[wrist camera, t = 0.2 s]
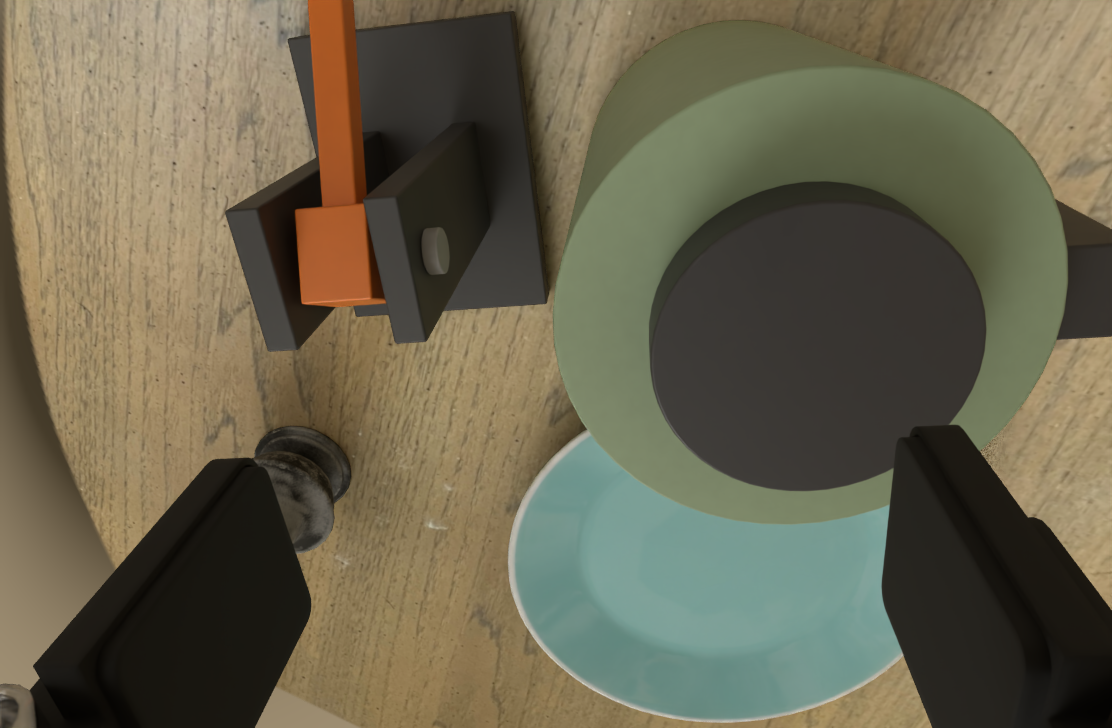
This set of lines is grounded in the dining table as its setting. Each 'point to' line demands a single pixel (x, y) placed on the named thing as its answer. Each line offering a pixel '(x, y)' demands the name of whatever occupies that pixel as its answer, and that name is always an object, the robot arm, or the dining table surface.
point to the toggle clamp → (415, 183)
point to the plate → (695, 596)
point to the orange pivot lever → (337, 172)
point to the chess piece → (305, 481)
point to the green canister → (806, 273)
